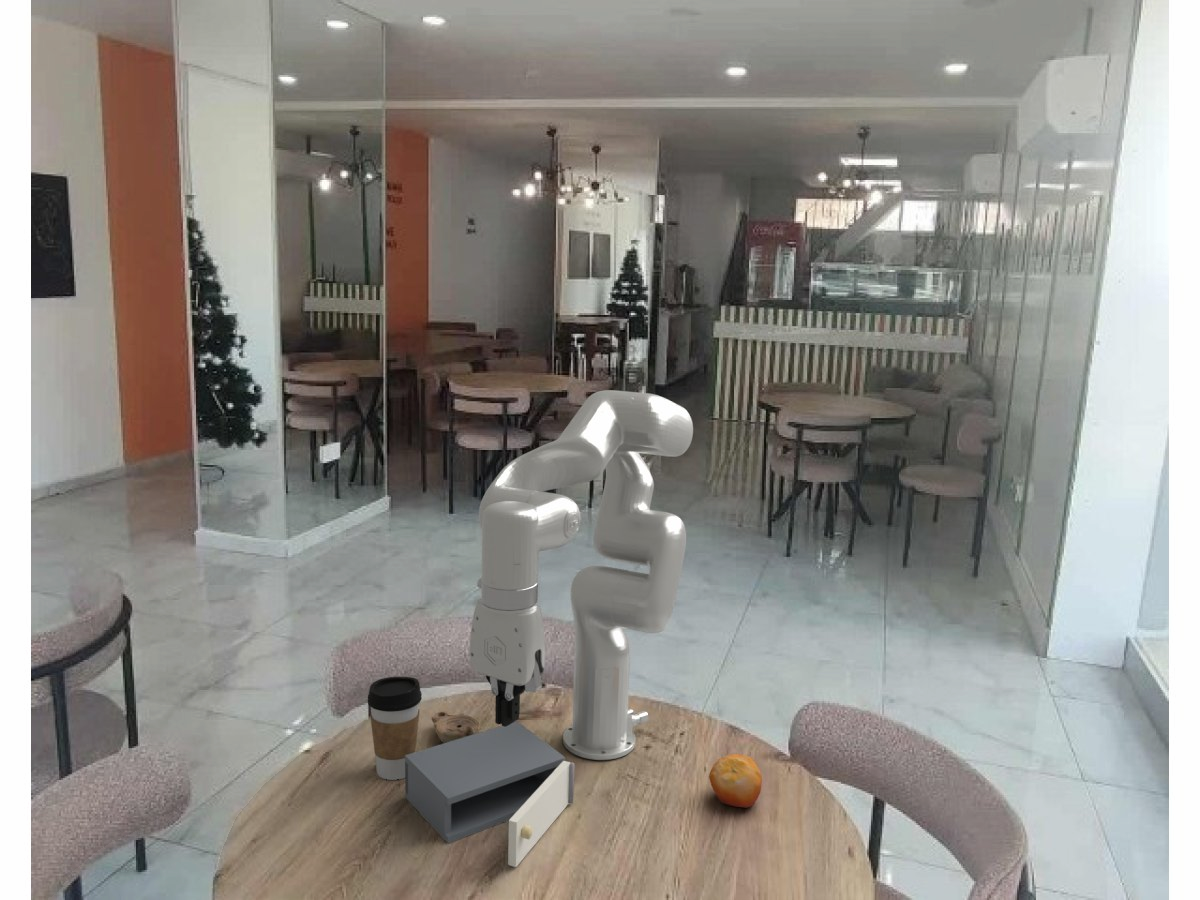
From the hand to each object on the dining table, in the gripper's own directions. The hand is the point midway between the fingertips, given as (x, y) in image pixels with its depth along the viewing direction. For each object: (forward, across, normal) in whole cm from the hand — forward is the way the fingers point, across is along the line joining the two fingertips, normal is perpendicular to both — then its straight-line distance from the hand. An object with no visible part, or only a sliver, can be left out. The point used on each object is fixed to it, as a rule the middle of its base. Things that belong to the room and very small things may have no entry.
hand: (507, 721), depth 124 cm
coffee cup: (+19, -27, +5) cm, 33 cm away
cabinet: (+19, -10, +7) cm, 23 cm away
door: (+19, +3, +6) cm, 20 cm away
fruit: (+19, +21, +30) cm, 42 cm away
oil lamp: (+19, -26, +18) cm, 37 cm away
